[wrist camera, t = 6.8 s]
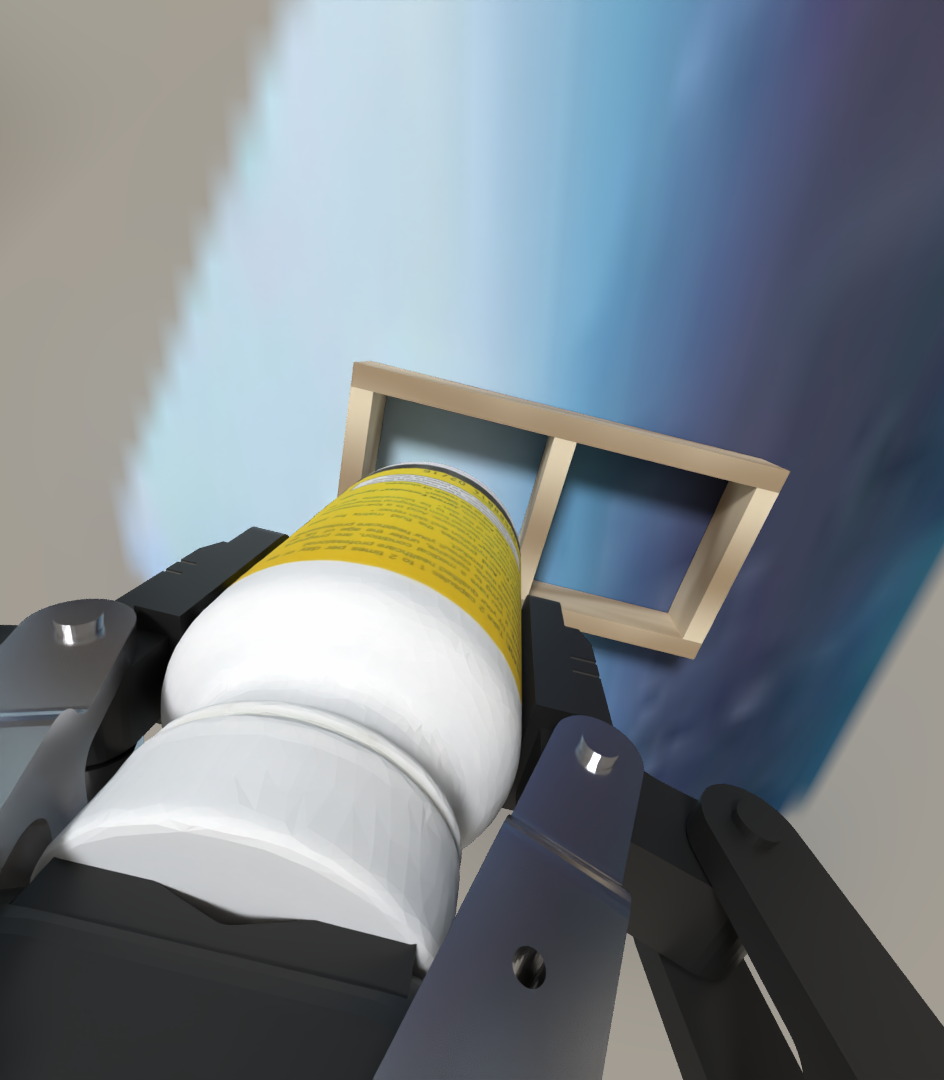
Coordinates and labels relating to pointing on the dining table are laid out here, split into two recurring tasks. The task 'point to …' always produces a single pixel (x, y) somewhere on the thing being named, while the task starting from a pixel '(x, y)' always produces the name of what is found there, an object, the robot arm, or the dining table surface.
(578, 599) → the rack
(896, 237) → the dining table surface
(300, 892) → the supplement bottle
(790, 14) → the dining table surface
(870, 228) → the dining table surface
